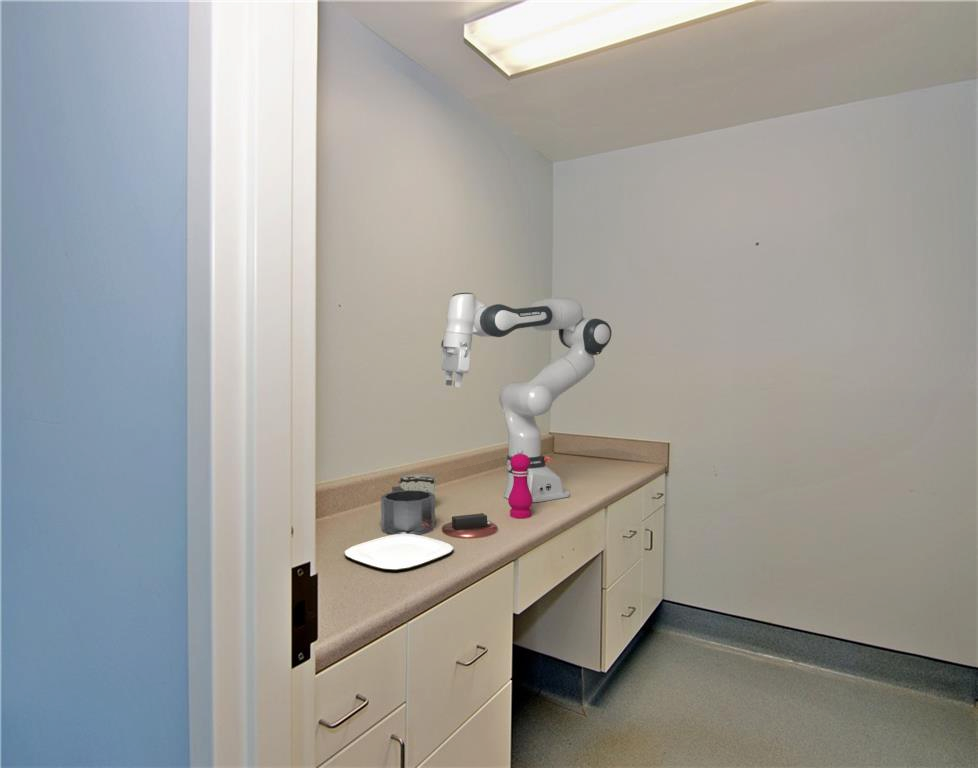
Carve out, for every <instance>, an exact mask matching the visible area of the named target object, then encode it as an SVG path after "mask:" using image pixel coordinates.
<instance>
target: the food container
mask: <svg viewBox="0 0 978 768" xmlns="http://www.w3.org/2000/svg"><path fill="white" fill-rule="evenodd" d="M437 484H438V482H437V478H436V476H435V475H431V474H422V473H420V474H419V473H418V474H417V473H415V474H408V475H406V474H405V475H401V476H399V478H398V480H397V485H399V486H400V487H401V488H402V489H404V490H420V491H427V492H431V493H433V494H434V495H435V488H436V487H435V485H437Z"/></svg>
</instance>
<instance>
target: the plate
mask: <svg viewBox="0 0 978 768" xmlns="http://www.w3.org/2000/svg"><path fill="white" fill-rule="evenodd" d="M453 550H455V549H454V547H453V546H452V545H451V544H450V543H449V542H448V543H447V542H446V541H442V540H438V539H436V538H431V537H428V536H425V535H424V536H423V535H414V534H395V535H389V534H388V535H386V536H381V537H378V538H374V539H371V540H368V541H365V542H362V543H359V544H355V545H353V546H350V547H349V548H348V549H346V550H345V551H344V556H345V557H346V558H348V559H351V560H352V561H355V562H357V563H361V564H364V565H367V566H369V567H373V568H377V569H380V570H381V569H382V570H387V571H401V570H408V569H411V568H415V567H419V566H422V565H424V564H428V563H431V562H432V561H435V560H438V559H441V558H443V557H444V556H446V555H449V554H451V552H452V551H453Z"/></svg>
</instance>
